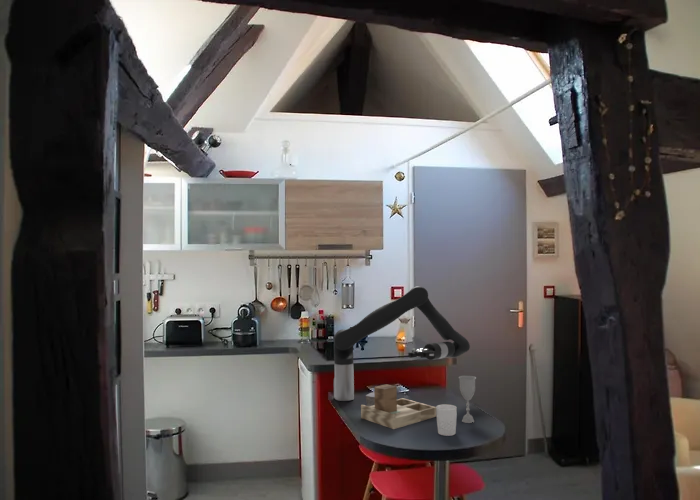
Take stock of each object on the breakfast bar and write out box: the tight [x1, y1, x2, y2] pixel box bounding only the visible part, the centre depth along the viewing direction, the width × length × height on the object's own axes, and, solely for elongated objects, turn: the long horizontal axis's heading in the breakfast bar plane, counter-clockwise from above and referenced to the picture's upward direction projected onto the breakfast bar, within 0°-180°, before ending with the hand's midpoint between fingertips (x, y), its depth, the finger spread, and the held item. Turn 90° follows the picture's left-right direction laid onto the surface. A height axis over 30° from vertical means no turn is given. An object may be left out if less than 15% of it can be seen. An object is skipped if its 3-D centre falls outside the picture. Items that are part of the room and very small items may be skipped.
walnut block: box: [373, 383, 398, 413], centre depth 221 cm, size 6×7×10 cm
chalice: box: [458, 375, 477, 424], centre depth 219 cm, size 7×7×18 cm
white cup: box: [435, 403, 458, 437], centre depth 204 cm, size 8×8×10 cm
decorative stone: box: [365, 391, 375, 406], centre depth 240 cm, size 15×7×10 cm
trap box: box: [360, 397, 437, 430], centre depth 225 cm, size 20×25×6 cm
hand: (409, 355), depth 234 cm, fingers closed
